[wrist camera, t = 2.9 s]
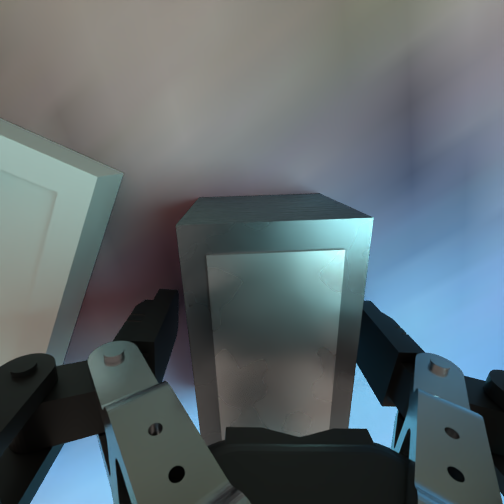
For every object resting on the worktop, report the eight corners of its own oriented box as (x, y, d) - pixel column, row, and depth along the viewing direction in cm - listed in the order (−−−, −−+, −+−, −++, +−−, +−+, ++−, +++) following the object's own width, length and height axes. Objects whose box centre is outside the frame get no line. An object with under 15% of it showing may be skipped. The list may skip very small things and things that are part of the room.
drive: (308, 379, 15) (342, 483, 10) (216, 385, 15) (207, 495, 10) (318, 192, 12) (375, 218, 7) (199, 196, 12) (174, 226, 7)
